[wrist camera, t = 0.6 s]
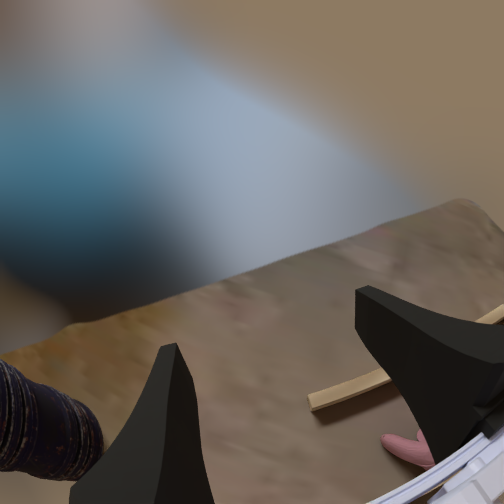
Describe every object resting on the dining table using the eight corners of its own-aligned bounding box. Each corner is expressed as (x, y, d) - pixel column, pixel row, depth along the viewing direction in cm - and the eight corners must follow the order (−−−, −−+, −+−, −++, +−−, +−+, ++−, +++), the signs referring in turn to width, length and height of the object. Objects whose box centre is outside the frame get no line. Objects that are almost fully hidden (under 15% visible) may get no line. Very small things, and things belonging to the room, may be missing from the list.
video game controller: (398, 465, 20) (449, 483, 13) (371, 440, 21) (424, 458, 14) (455, 383, 23) (508, 380, 17) (433, 355, 24) (489, 347, 17)
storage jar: (56, 383, 28) (-41, 321, 16) (117, 422, 25) (3, 371, 13) (29, 451, 22) (-75, 412, 10) (87, 499, 19) (-34, 486, 7)
